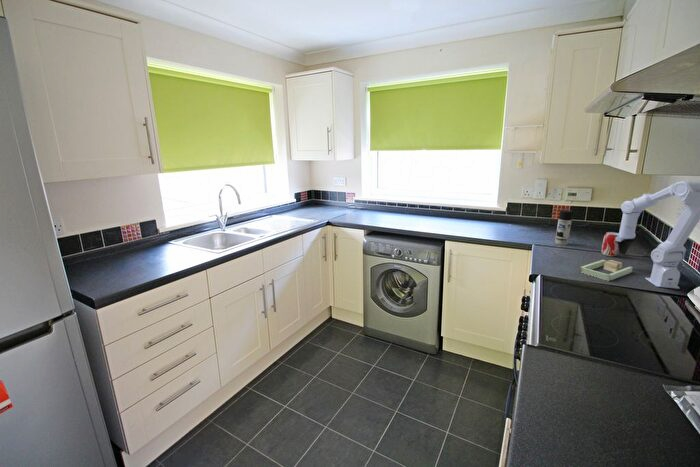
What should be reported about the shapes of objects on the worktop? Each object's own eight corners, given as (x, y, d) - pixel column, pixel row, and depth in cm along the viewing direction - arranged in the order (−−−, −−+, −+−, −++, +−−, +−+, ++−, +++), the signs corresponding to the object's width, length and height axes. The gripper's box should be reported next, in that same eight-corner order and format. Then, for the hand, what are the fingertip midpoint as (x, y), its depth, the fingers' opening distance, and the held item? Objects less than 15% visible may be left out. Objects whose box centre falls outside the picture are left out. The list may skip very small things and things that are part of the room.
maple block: (608, 267, 166) (610, 259, 165) (620, 270, 162) (622, 262, 161) (603, 269, 164) (604, 261, 163) (615, 272, 160) (616, 264, 159)
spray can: (552, 243, 205) (557, 210, 200) (557, 241, 209) (562, 209, 204) (564, 246, 200) (570, 212, 195) (569, 243, 204) (575, 211, 199)
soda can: (609, 257, 180) (613, 235, 177) (597, 253, 187) (601, 232, 184) (620, 256, 181) (624, 234, 178) (608, 252, 188) (612, 231, 185)
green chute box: (602, 264, 170) (603, 259, 169) (631, 272, 160) (632, 267, 159) (578, 272, 160) (579, 267, 159) (608, 281, 150) (609, 275, 149)
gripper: (625, 222, 168) (620, 249, 172) (610, 226, 161) (605, 253, 165) (643, 225, 162) (636, 252, 166) (628, 229, 155) (622, 257, 159)
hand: (622, 253), depth 165 cm, fingers closed
